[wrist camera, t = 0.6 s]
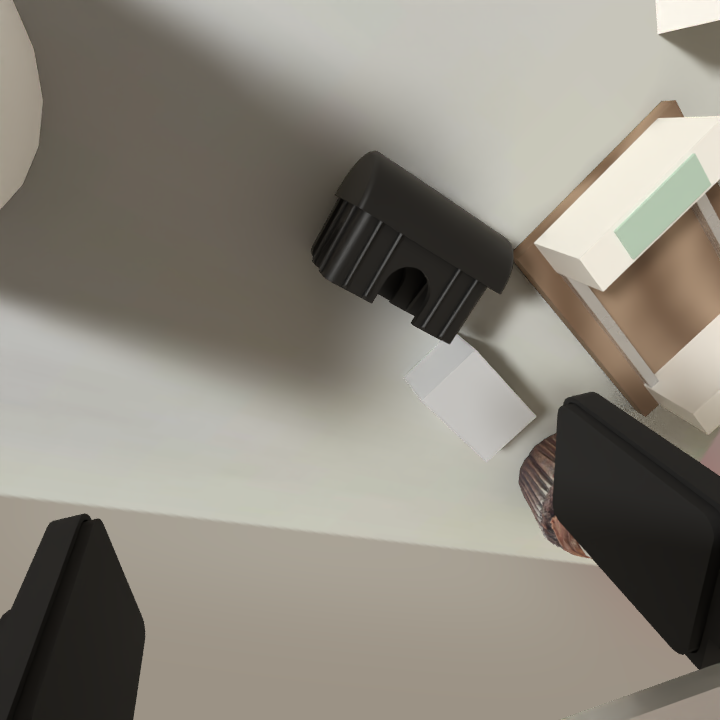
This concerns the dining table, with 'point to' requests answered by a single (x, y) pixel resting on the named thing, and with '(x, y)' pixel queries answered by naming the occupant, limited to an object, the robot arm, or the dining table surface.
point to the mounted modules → (648, 242)
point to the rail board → (638, 286)
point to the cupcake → (546, 495)
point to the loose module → (469, 397)
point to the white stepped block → (685, 13)
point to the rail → (716, 233)
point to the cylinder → (17, 102)
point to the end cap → (410, 247)
